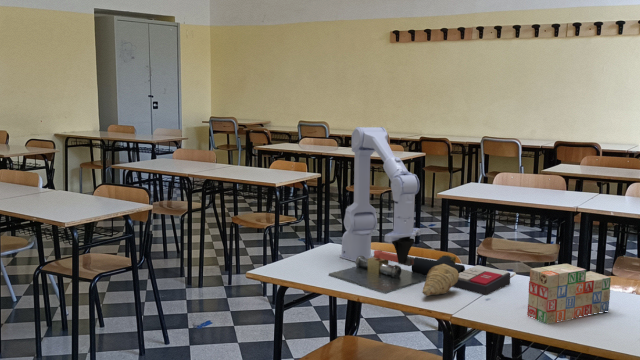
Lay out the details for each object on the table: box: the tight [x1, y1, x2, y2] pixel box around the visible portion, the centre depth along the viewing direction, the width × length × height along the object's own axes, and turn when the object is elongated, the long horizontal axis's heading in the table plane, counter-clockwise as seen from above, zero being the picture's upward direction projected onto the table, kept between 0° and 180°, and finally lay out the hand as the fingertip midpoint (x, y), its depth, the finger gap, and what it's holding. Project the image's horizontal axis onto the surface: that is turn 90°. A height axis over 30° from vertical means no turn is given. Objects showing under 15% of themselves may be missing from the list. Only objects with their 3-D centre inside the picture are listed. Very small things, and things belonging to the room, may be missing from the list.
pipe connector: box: [411, 254, 466, 276], centre depth 183 cm, size 12×5×15 cm
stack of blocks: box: [526, 263, 612, 325], centre depth 149 cm, size 21×6×12 cm, turn 115°
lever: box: [373, 249, 415, 267], centre depth 178 cm, size 13×3×2 cm, turn 48°
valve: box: [328, 256, 427, 294], centre depth 178 cm, size 22×21×5 cm
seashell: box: [421, 264, 459, 296], centre depth 162 cm, size 14×8×8 cm, turn 148°
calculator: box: [451, 264, 511, 296], centre depth 172 cm, size 11×4×15 cm
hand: (401, 262), depth 173 cm, fingers closed
